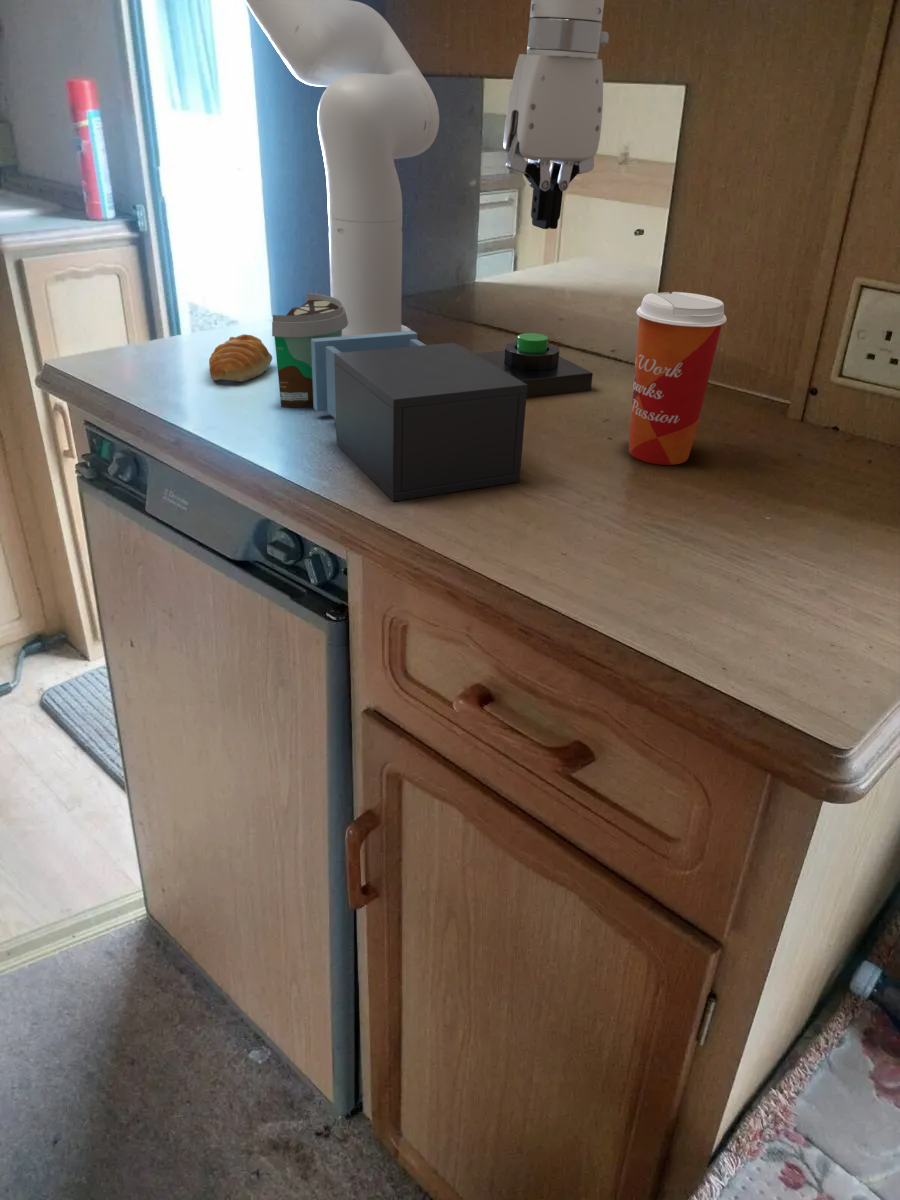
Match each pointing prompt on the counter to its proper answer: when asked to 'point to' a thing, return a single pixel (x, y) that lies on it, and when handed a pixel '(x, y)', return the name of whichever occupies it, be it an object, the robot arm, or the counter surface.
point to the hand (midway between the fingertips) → (544, 226)
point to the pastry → (239, 359)
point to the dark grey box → (429, 419)
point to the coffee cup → (672, 373)
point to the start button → (532, 343)
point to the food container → (303, 344)
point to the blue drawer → (328, 346)
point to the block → (541, 370)
